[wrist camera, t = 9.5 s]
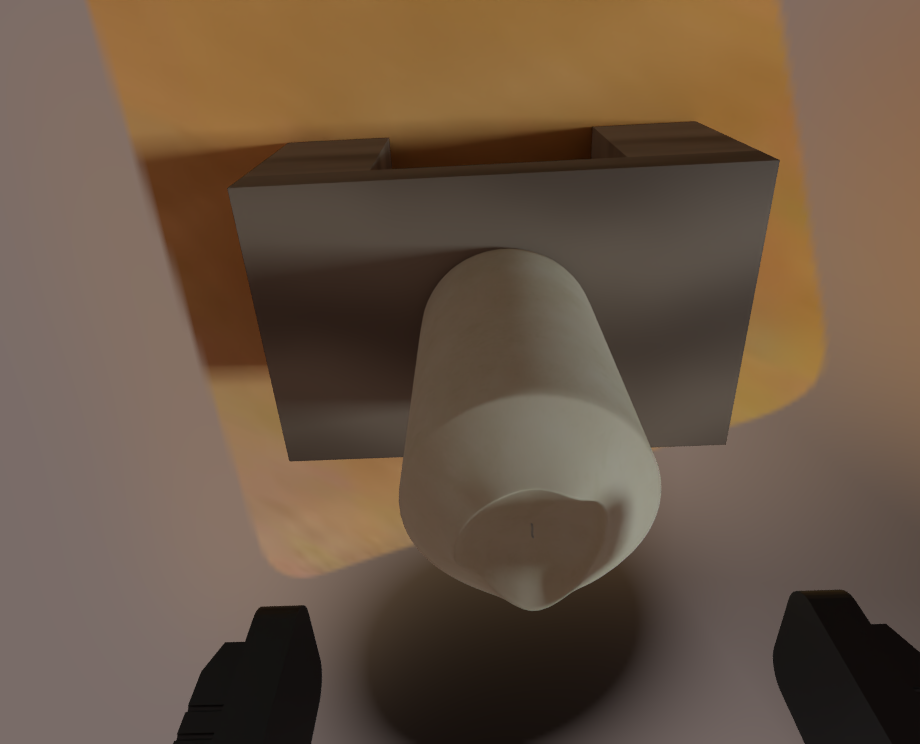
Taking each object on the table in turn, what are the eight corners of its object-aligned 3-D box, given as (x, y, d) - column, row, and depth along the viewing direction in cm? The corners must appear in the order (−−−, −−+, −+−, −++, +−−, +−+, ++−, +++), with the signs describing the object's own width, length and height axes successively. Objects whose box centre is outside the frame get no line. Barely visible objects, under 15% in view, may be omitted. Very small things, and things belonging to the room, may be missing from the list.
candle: (581, 399, 22) (656, 651, 14) (423, 396, 22) (396, 647, 14) (600, 246, 19) (710, 441, 11) (420, 244, 19) (384, 437, 11)
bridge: (288, 143, 25) (227, 188, 19) (695, 121, 25) (779, 160, 18) (327, 364, 30) (289, 461, 24) (667, 349, 30) (725, 444, 23)
